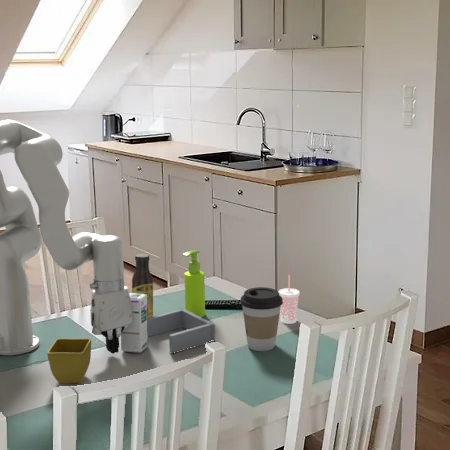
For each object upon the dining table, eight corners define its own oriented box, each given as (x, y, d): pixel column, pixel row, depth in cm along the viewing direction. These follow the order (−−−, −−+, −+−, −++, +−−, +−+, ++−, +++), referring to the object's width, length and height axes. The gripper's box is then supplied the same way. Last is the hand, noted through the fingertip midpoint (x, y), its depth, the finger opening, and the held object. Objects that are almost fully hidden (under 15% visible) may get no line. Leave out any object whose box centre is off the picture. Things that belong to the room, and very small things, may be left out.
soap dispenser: (178, 316, 217) (177, 251, 212) (194, 310, 222) (193, 246, 217) (193, 320, 213) (191, 255, 209) (209, 314, 218) (208, 250, 214)
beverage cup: (288, 326, 208) (288, 279, 205) (273, 320, 213) (274, 274, 210) (303, 321, 212) (304, 275, 209) (289, 315, 217) (289, 270, 213)
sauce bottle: (137, 325, 210) (134, 259, 205) (128, 319, 215) (125, 254, 210) (157, 321, 213) (155, 256, 208) (148, 315, 218) (146, 251, 214)
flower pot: (48, 387, 172) (46, 352, 170) (58, 371, 181) (56, 338, 179) (85, 388, 172) (83, 352, 170) (93, 372, 180) (91, 338, 178)
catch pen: (172, 354, 190) (171, 336, 189) (142, 336, 202) (141, 319, 201) (214, 341, 199) (214, 323, 197) (183, 324, 210) (183, 308, 209)
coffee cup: (240, 337, 201) (240, 285, 197) (282, 337, 200) (282, 285, 197) (239, 354, 190) (239, 299, 186) (283, 354, 189) (283, 300, 186)
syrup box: (141, 352, 190) (141, 298, 188) (120, 351, 191) (119, 297, 189) (148, 346, 195) (148, 293, 194) (127, 344, 197) (127, 292, 195)
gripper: (89, 294, 178) (93, 363, 182) (142, 281, 186) (145, 348, 191) (75, 286, 183) (80, 354, 188) (127, 275, 192) (130, 340, 196)
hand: (112, 351), depth 189 cm, fingers closed
